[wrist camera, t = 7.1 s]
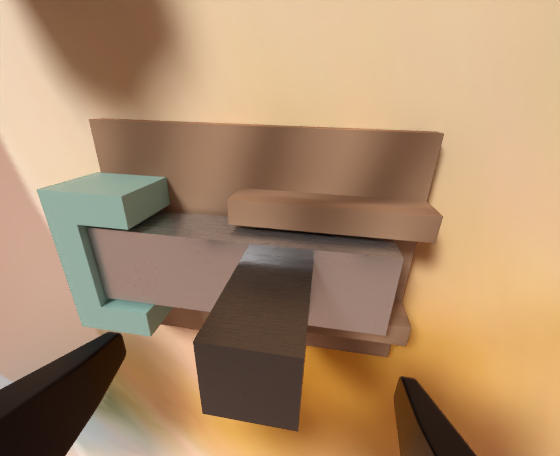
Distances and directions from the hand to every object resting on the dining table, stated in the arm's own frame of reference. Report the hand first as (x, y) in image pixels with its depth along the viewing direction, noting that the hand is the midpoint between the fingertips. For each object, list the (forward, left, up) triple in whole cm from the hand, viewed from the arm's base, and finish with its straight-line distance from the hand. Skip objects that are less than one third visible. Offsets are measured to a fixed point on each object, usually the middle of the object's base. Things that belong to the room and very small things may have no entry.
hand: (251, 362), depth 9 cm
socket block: (+8, 0, -8) cm, 12 cm away
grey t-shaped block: (+2, 0, -7) cm, 7 cm away
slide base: (+1, 0, -8) cm, 8 cm away
